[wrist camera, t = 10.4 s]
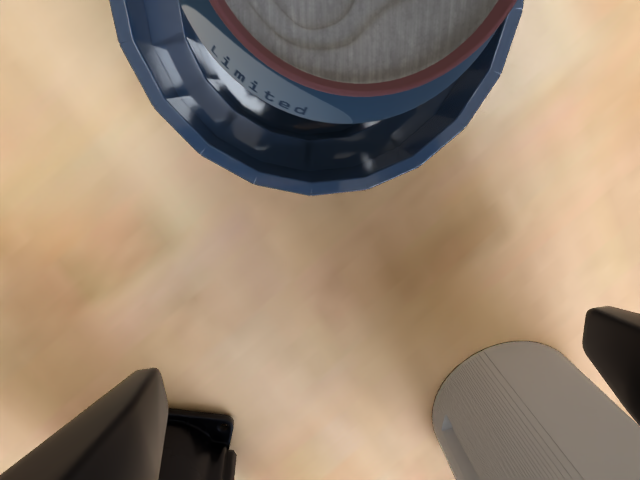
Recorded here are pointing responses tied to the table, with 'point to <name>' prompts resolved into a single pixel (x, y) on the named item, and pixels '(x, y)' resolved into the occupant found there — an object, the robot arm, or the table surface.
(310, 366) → the table surface
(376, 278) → the table surface
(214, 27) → the soda can
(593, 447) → the cup
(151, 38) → the bowl
